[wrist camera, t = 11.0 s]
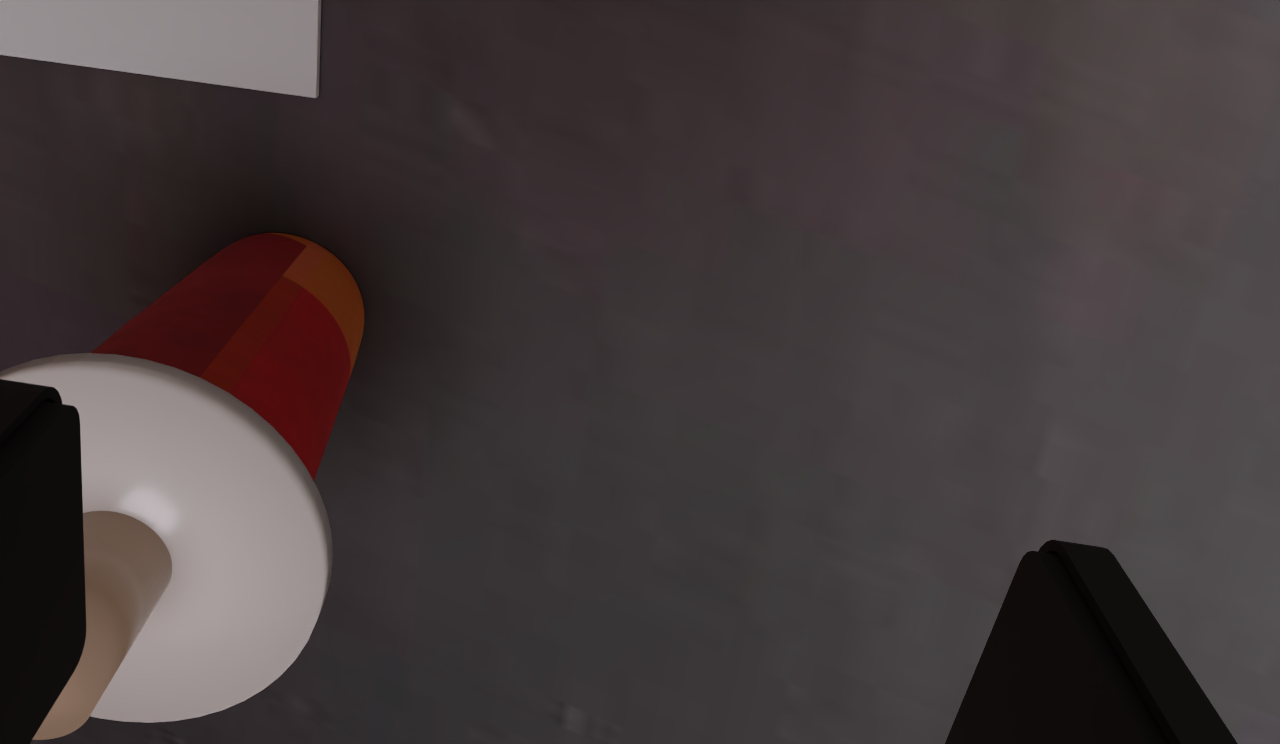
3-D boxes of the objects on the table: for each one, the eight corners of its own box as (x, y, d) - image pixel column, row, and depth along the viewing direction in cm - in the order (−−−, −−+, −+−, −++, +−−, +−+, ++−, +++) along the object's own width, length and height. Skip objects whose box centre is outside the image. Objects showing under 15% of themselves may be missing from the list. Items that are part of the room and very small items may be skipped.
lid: (-111, 329, 26) (-283, 447, 21) (337, 378, 27) (272, 503, 22) (-56, 677, 30) (-190, 845, 25) (329, 712, 31) (273, 880, 26)
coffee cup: (140, 355, 43) (-83, 598, 29) (210, 160, 40) (-3, 329, 26) (352, 443, 44) (236, 711, 31) (435, 263, 41) (347, 472, 28)
